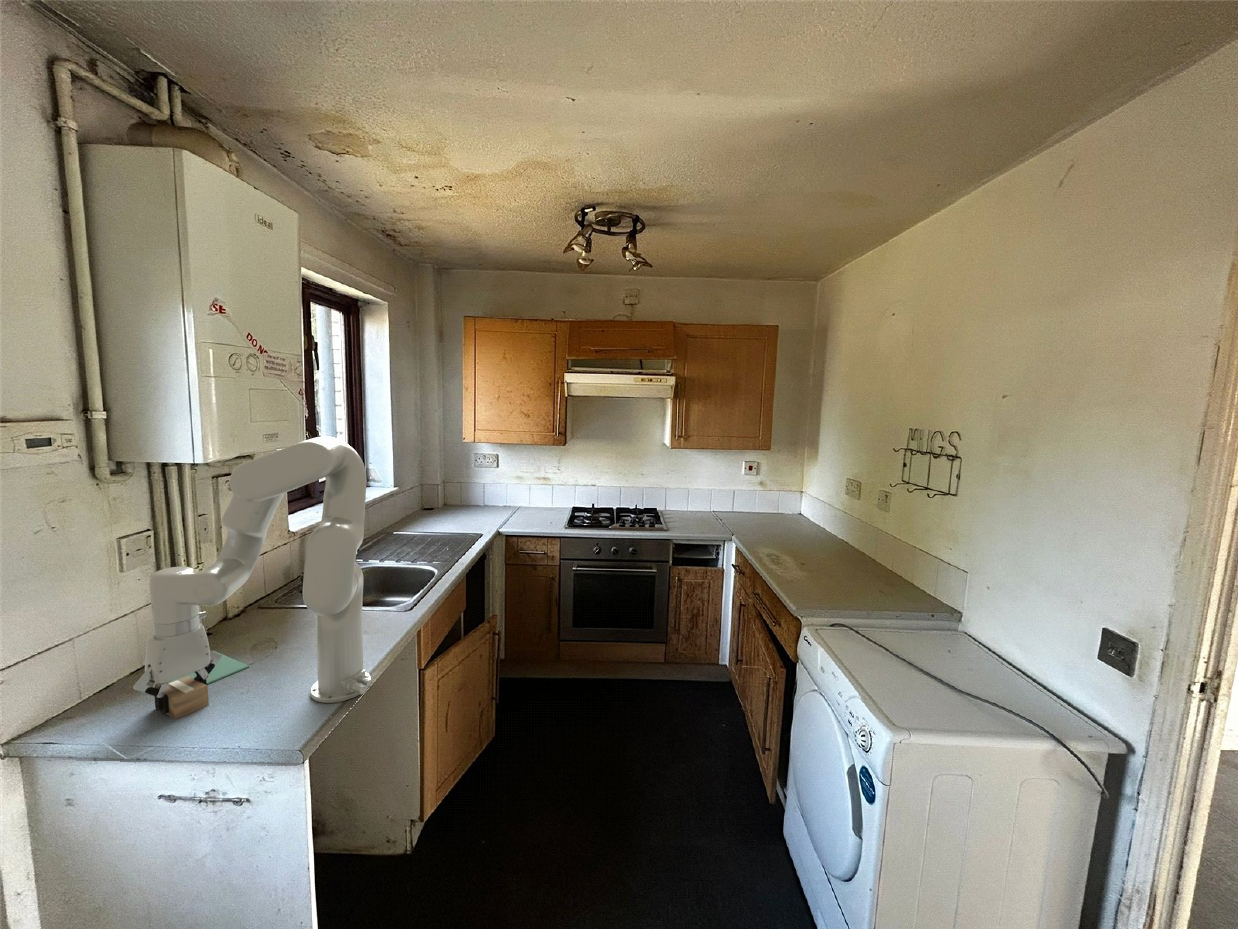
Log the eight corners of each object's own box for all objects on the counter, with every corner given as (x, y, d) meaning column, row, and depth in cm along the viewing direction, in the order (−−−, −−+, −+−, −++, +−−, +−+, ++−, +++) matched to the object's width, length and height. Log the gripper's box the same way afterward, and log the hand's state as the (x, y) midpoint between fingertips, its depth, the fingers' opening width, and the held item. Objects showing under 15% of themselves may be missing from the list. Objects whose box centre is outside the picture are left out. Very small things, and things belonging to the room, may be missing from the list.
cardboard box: (208, 704, 111) (207, 684, 110) (175, 719, 105) (174, 698, 105) (189, 694, 114) (187, 674, 114) (156, 708, 109) (154, 687, 108)
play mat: (248, 667, 126) (248, 665, 126) (181, 695, 114) (181, 693, 114) (213, 651, 133) (213, 650, 133) (146, 676, 120) (145, 675, 120)
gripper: (213, 607, 117) (217, 680, 119) (115, 637, 101) (122, 720, 103) (232, 614, 114) (236, 688, 116) (133, 646, 98) (140, 731, 100)
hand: (182, 702), depth 110 cm, fingers closed on cardboard box, 6 cm apart
